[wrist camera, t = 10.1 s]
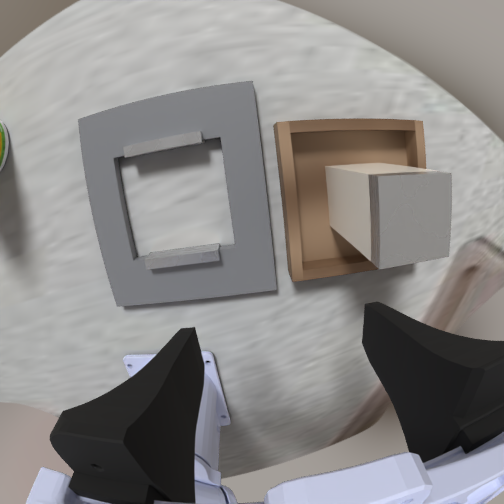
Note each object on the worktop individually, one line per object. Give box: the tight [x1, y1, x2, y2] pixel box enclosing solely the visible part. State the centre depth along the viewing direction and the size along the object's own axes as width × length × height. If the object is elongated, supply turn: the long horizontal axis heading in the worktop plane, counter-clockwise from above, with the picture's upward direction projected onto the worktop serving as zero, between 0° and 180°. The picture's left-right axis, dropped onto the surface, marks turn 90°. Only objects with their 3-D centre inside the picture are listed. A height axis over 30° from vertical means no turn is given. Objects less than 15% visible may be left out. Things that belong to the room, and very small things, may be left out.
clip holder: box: [78, 81, 277, 306], centre depth 19 cm, size 14×12×2 cm
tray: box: [273, 119, 426, 282], centre depth 19 cm, size 10×10×2 cm
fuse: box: [325, 163, 452, 269], centre depth 15 cm, size 4×4×8 cm
